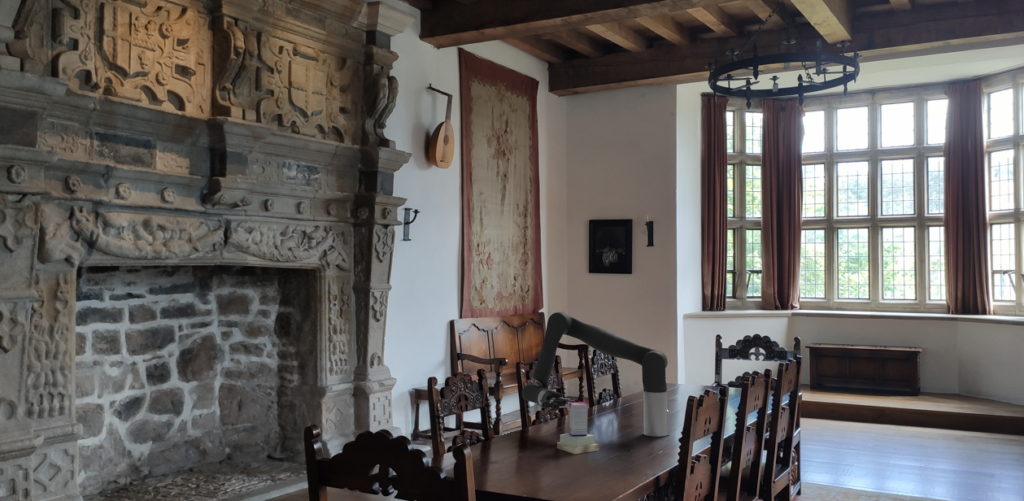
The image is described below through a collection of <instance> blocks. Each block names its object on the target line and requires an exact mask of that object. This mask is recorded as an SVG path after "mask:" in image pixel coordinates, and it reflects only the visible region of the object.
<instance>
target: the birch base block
mask: <svg viewBox="0 0 1024 501" xmlns="http://www.w3.org/2000/svg"><path fill="white" fill-rule="evenodd" d="M556 448H557V449H558V450H561V451H564V452H568V453H570V454H573V455H577V454H584V453H591V452H596V451H599V452H600V443H596V442H595V444H591V445H586V446H581V447H575V446H570V445H566V444H562V443H560V441H557V442H556Z"/></svg>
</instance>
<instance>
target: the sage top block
mask: <svg viewBox="0 0 1024 501" xmlns="http://www.w3.org/2000/svg"><path fill="white" fill-rule="evenodd" d="M559 442H560V443H562V444H566V445H570V446H575V447H581V446H586V445H591V444H595V443H596V435H595V434H590V433H587V436H571V435H570V434H569V432H568V433H562V434H559Z"/></svg>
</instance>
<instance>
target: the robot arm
mask: <svg viewBox="0 0 1024 501" xmlns="http://www.w3.org/2000/svg"><path fill="white" fill-rule="evenodd" d="M544 334H545V335H544V339H543V343H542V346H541V350H540V352H539V353H540V354H539V356H538V359H537V362H536V364H535V366H534V370H533V373H532V378H533V379H534V380H535V381H538V382H539V384H540V385H536V384H533V383H528V384H526V385H524V387H523V388H522V390H521V394H522V395H521V396H522V398H523V400H525V401H527V402H530V403H535V404H537V405H539V407H541V408H543V409H545V410H549V411H551V412H557V411H558V410H560V409H562V408H566V409H568V408H569V403H570V402H571V403H579V400H578V399H577V398H573V397H569V398H568V397H567V398H566V397H563V395H562V394H561V393H560V392H557V391H555V390H552V389H549V382H550V378H551V374H552V371H553V370H554V366H555V361H556V354H557V350H558V346H559V343H560V342H561V339H562V338H563V335H565V336H568V337H572V338H575V339H577V340H579V341H581V342H583V343H585V345H587V346H589V347H590V348H592V349H594V350H596V351H598V352H600V353H602V354H604V355H607V356H610V357H614V358H617V359H623V360H627V361H631V362H633V363H635V364H637V365H640V366H641V379H642V387H643V390H642V391H643V394H642V395H643V398H642V399H643V435H645V436H647V437H659V438H660V437H666V436H668V435H670V411H669V410H668V386H667V381H666V379H667V378H666V374H667V373H666V368H667V367H668V364H669V363H668V358H667V356H666V355H665V353H664V352H663V351H661V350H657V349H654V348H651V347H647V346H644V345H642V344H641V345H640V344H637V343H636V342H634V341H632V340H630V339H627V338H625V337H624V336H621V335H619V334H617V333H614V332H612V331H611V330H608V329H604V328H602V327H598V326H596V325H592V324H589V323H585V322H583V321H581V320H579V319H577V318H575V317H573V316H572V315H570V314H569V313H567V312H564V311H557V312H553V313H552V314H550V316H549V317H548V319H547V323H546V328H545V333H544Z"/></svg>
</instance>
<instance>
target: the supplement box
mask: <svg viewBox="0 0 1024 501" xmlns="http://www.w3.org/2000/svg"><path fill="white" fill-rule="evenodd" d="M568 412H569V413H568V416H569V417H568V419H569V420H568V429H569V431H568V433H569V434H570V435H571V436H587V434H588V404H587V403H586V402H578V403H571V402H570V403H569V409H568Z"/></svg>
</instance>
